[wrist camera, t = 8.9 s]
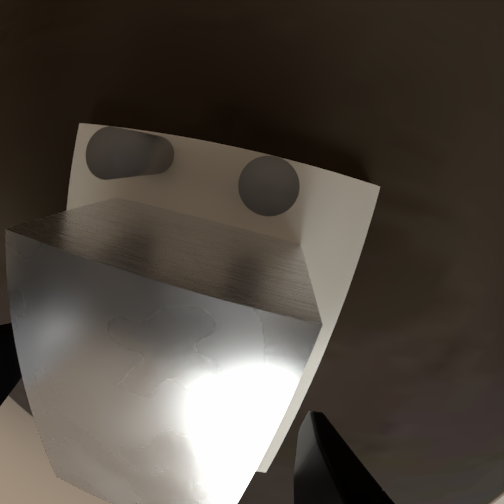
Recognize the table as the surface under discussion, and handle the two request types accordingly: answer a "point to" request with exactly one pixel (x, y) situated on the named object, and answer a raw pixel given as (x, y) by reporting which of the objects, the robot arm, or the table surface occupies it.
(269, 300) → the block
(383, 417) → the table surface
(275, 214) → the pin tray
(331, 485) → the robot arm
